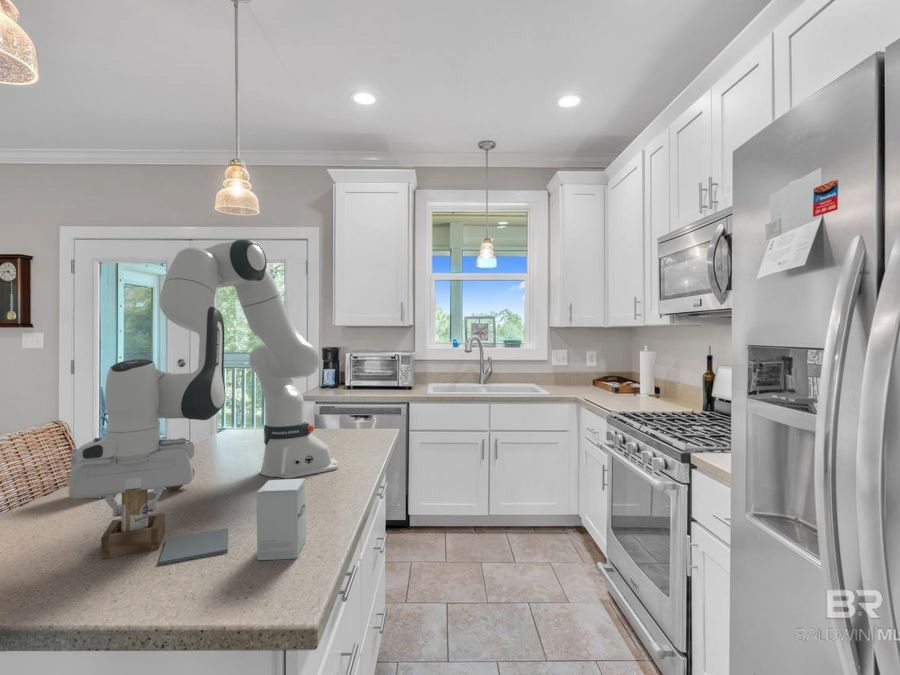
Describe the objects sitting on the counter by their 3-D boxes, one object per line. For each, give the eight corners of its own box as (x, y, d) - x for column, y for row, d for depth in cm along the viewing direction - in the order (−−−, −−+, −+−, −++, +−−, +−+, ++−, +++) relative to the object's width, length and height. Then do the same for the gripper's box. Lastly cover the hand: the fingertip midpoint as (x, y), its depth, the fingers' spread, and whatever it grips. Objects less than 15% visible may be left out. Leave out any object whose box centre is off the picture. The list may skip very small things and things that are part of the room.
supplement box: (298, 559, 85) (296, 489, 85) (256, 561, 85) (254, 491, 85) (307, 541, 93) (306, 477, 93) (268, 543, 92) (267, 479, 92)
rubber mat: (227, 530, 98) (227, 527, 98) (227, 552, 88) (227, 549, 88) (167, 541, 94) (167, 538, 94) (159, 565, 84) (159, 561, 84)
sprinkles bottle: (143, 548, 91) (142, 478, 91) (116, 550, 90) (116, 480, 90) (152, 538, 95) (152, 472, 95) (127, 540, 94) (126, 473, 94)
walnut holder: (164, 531, 98) (164, 512, 98) (158, 549, 90) (158, 528, 90) (112, 540, 94) (112, 520, 94) (101, 559, 86) (101, 537, 86)
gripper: (195, 434, 99) (196, 499, 100) (75, 445, 91) (76, 516, 91) (192, 440, 94) (194, 509, 94) (64, 452, 85) (66, 528, 85)
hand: (135, 512), depth 92 cm, fingers closed on sprinkles bottle, 4 cm apart
